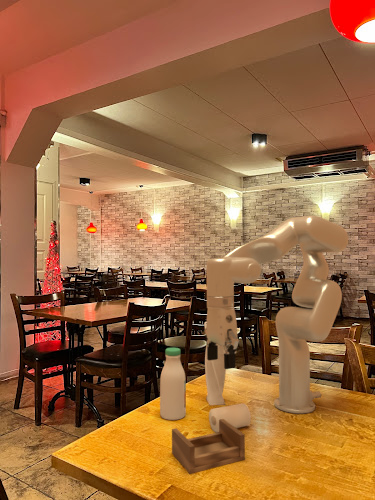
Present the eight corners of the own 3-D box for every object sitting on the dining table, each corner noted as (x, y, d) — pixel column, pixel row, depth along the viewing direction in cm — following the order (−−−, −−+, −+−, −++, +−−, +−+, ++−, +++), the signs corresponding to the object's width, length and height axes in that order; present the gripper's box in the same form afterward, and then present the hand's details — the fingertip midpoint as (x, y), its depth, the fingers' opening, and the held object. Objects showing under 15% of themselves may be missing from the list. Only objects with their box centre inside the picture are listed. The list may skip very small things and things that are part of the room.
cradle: (223, 441, 101) (223, 418, 101) (244, 459, 92) (244, 434, 92) (171, 453, 95) (171, 429, 95) (189, 473, 86) (189, 447, 86)
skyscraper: (229, 406, 125) (229, 318, 126) (207, 407, 124) (206, 319, 125) (223, 397, 133) (223, 315, 134) (202, 398, 132) (202, 315, 133)
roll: (240, 422, 114) (239, 400, 114) (252, 428, 108) (250, 406, 109) (208, 428, 109) (207, 406, 110) (219, 435, 104) (218, 412, 105)
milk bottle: (182, 421, 113) (182, 352, 114) (157, 419, 115) (157, 351, 115) (188, 411, 121) (188, 346, 121) (163, 409, 122) (163, 345, 123)
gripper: (248, 305, 103) (249, 370, 103) (217, 298, 119) (217, 355, 118) (224, 306, 100) (224, 374, 99) (194, 300, 116) (195, 358, 115)
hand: (220, 363), depth 109 cm, fingers open, 9 cm apart
